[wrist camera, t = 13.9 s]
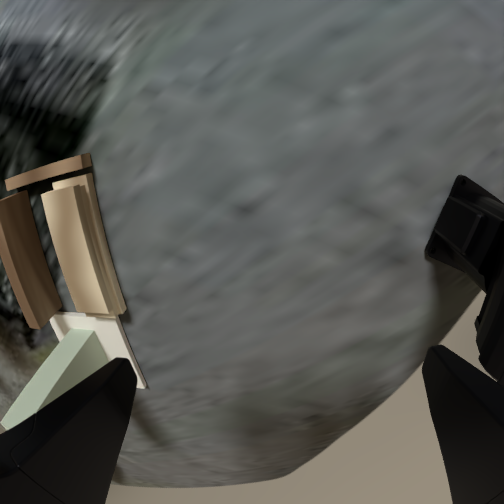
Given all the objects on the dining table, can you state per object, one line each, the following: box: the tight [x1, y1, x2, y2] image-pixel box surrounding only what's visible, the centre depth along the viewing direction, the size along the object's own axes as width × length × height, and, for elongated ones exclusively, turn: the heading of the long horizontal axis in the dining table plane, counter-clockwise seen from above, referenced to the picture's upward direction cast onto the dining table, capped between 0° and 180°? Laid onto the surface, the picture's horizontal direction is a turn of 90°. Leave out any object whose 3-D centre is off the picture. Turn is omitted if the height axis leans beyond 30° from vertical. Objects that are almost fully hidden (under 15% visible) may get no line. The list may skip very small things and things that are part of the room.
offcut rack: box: [0, 153, 127, 329], centre depth 20 cm, size 10×13×4 cm
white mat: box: [50, 311, 147, 389], centre depth 26 cm, size 9×9×1 cm
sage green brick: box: [0, 328, 109, 430], centre depth 20 cm, size 3×6×13 cm, turn 6°
